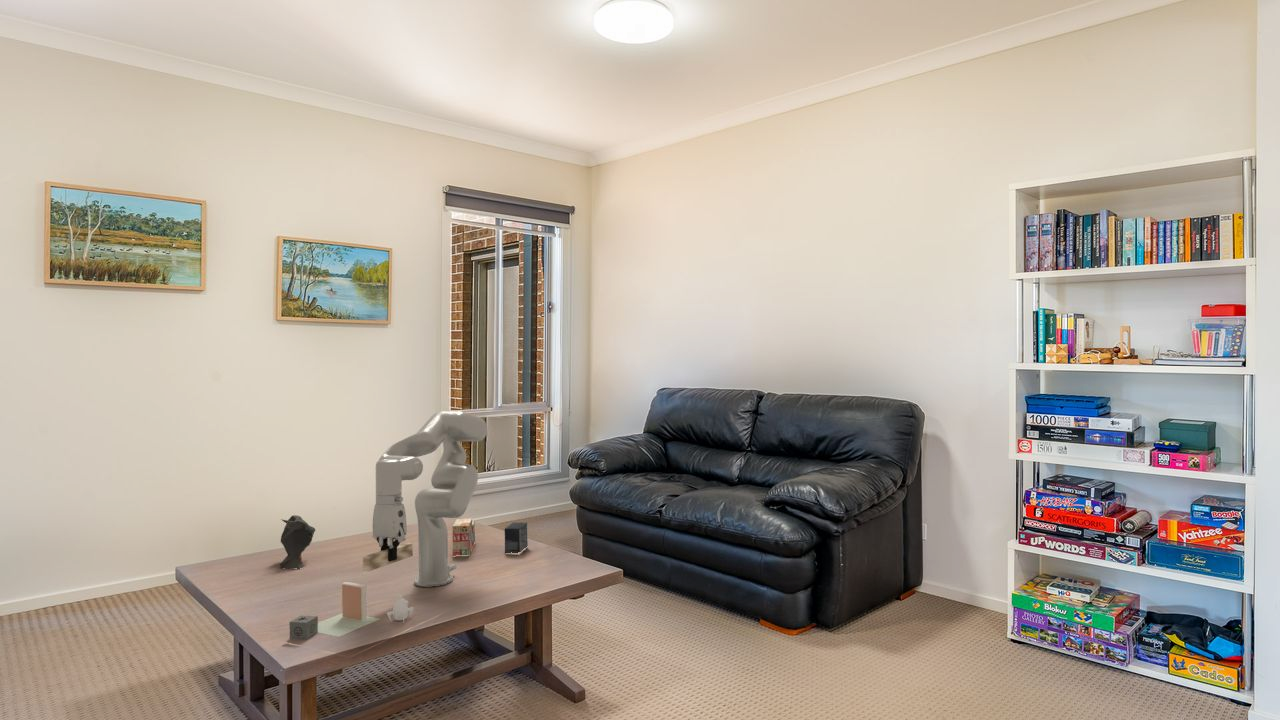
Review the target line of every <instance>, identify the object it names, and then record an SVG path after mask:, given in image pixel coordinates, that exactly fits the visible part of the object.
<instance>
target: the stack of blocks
mask: <svg viewBox="0 0 1280 720" xmlns="http://www.w3.org/2000/svg"><path fill="white" fill-rule="evenodd" d="M474 542H475V543H476V529H475V521H474V520H473V518H455V522H454V523H453V525H452V557H453V556H456V555H469V554H470V552H471V550H473V548H472V546H473V545H474V546H475V544H474ZM474 546H473V547H474ZM471 553H472V552H471ZM470 555H471V554H470ZM470 555H469V556H470Z"/></svg>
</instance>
